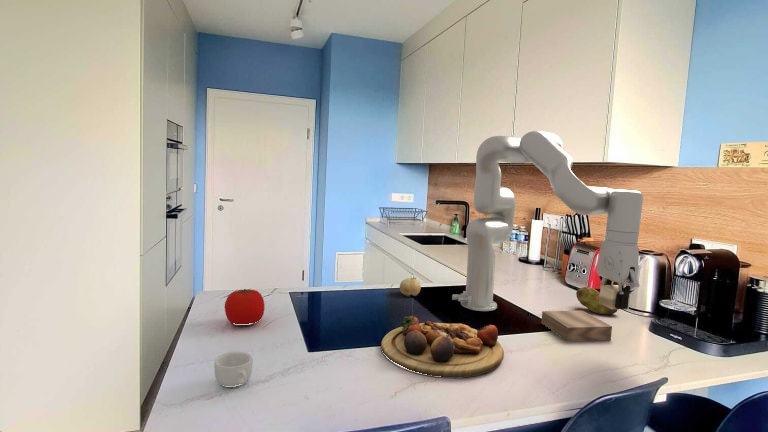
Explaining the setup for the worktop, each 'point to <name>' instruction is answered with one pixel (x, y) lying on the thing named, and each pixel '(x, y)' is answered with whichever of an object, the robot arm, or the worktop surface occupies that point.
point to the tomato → (244, 306)
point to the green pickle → (592, 301)
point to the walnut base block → (576, 325)
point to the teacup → (233, 368)
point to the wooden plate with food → (443, 348)
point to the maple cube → (609, 296)
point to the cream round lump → (410, 287)
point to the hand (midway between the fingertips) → (613, 304)
